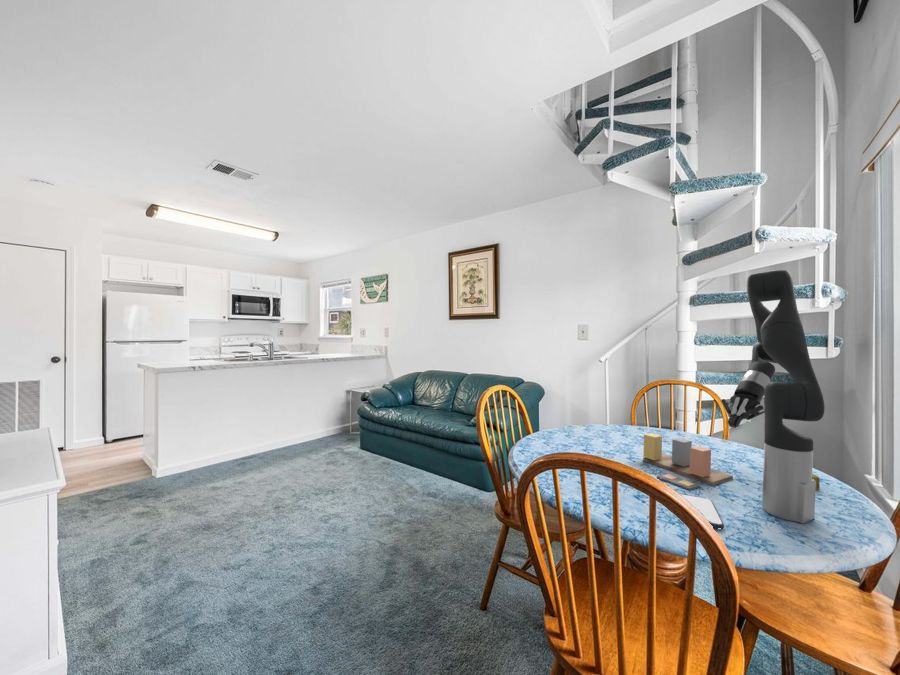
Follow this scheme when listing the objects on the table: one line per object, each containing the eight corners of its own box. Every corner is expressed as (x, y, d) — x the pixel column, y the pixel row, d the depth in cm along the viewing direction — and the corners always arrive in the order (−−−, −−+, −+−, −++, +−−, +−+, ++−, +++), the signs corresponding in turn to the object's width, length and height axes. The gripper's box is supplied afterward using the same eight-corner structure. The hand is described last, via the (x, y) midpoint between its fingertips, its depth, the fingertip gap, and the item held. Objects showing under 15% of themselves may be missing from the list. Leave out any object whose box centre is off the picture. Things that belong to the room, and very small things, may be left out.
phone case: (673, 498, 106) (680, 524, 92) (674, 492, 106) (681, 517, 91) (711, 505, 102) (725, 533, 88) (712, 499, 102) (725, 526, 88)
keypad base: (732, 479, 118) (732, 475, 118) (712, 485, 113) (712, 482, 113) (662, 456, 138) (662, 453, 138) (643, 460, 134) (643, 457, 134)
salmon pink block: (710, 475, 118) (711, 449, 117) (702, 477, 116) (703, 451, 115) (697, 470, 121) (697, 445, 121) (689, 472, 119) (690, 447, 119)
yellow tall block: (661, 458, 132) (662, 435, 132) (654, 460, 130) (654, 437, 130) (650, 455, 135) (651, 433, 135) (643, 456, 134) (643, 434, 133)
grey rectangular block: (691, 464, 126) (691, 440, 126) (683, 466, 124) (684, 442, 124) (679, 460, 130) (679, 437, 130) (671, 462, 128) (672, 439, 128)
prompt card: (699, 487, 112) (699, 484, 112) (689, 490, 110) (689, 487, 109) (667, 475, 121) (667, 472, 121) (657, 477, 118) (657, 475, 118)
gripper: (727, 377, 136) (706, 414, 130) (772, 382, 124) (750, 423, 119) (735, 390, 138) (714, 428, 133) (779, 397, 126) (759, 438, 121)
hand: (731, 426), depth 126 cm, fingers closed
